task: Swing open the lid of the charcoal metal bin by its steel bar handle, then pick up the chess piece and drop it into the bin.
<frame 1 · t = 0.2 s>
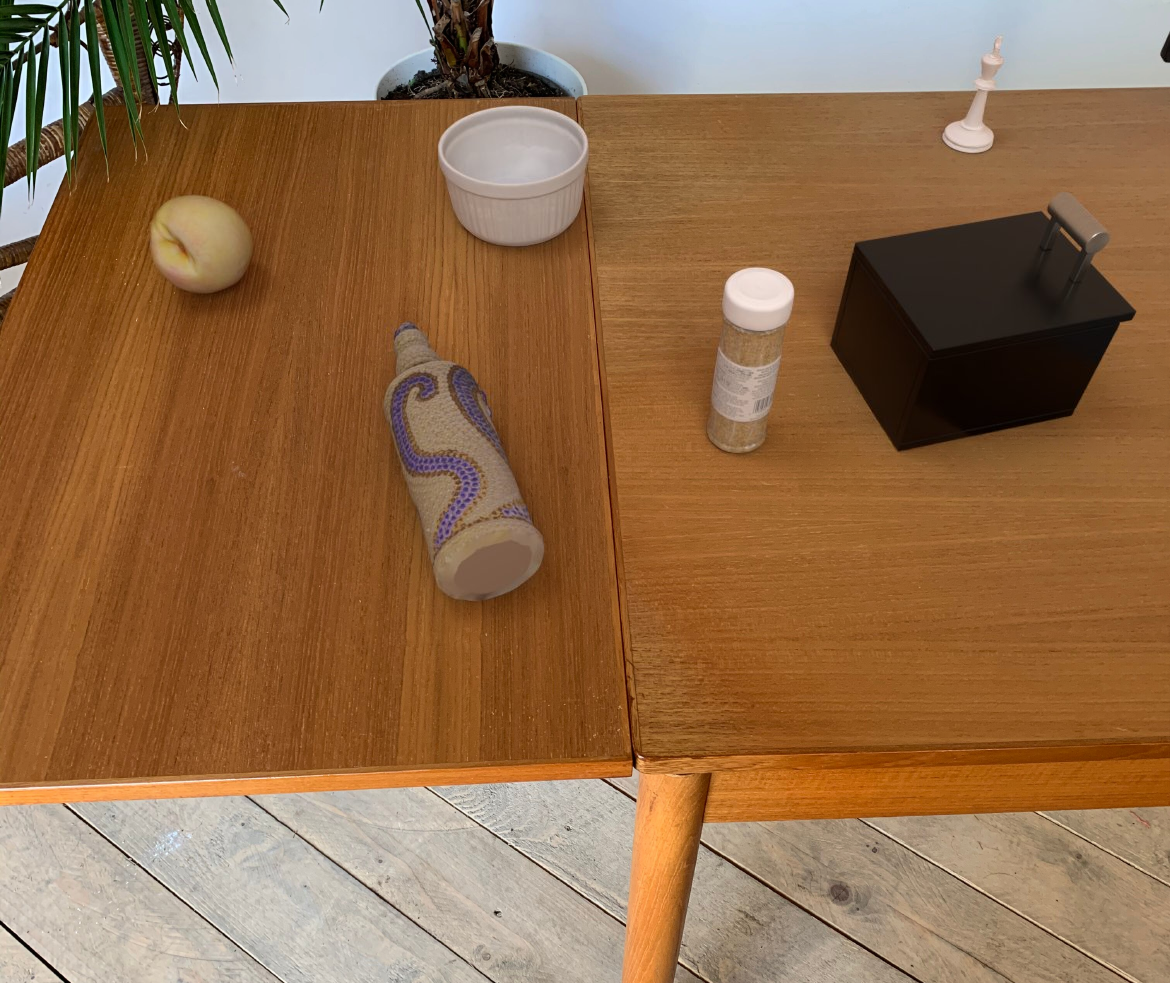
decorative bottle: (464, 475, 74), on the table
bin lid: (999, 255, 71), point 11 cm above the table, hinge at 0.0°
fruit: (217, 288, 87), on the table
chess piece: (966, 141, 101), on the table
ramekin: (517, 215, 94), on the table
bin: (946, 379, 80), on the table
spice jar: (735, 436, 76), on the table
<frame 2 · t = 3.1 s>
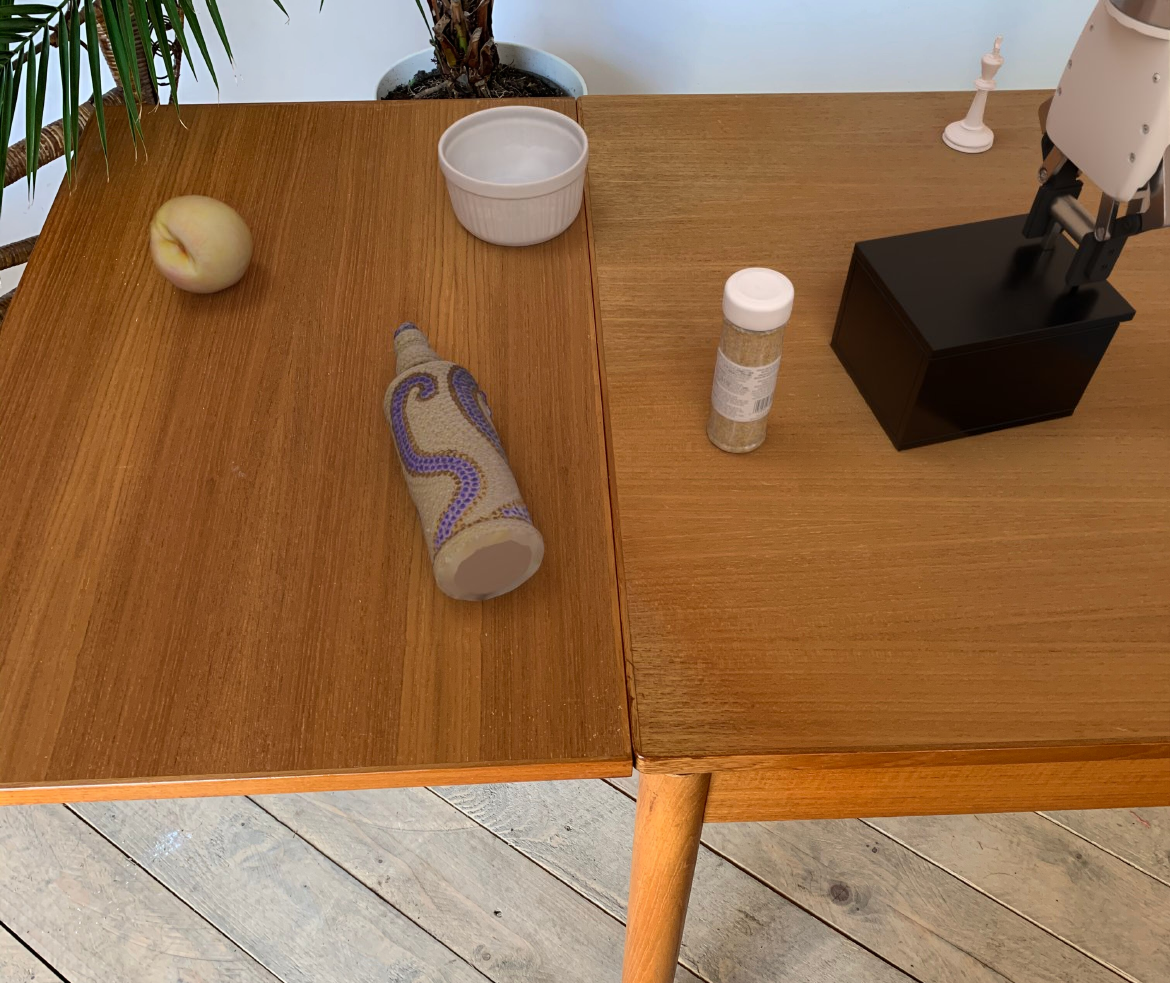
hand: (1063, 255, 73), 10 cm above the table, tool pointing down, fingers closed on bin lid, 5 cm apart
bin lid: (999, 255, 71), point 11 cm above the table, hinge at 0.0°, touching gripper
everything else where it was.
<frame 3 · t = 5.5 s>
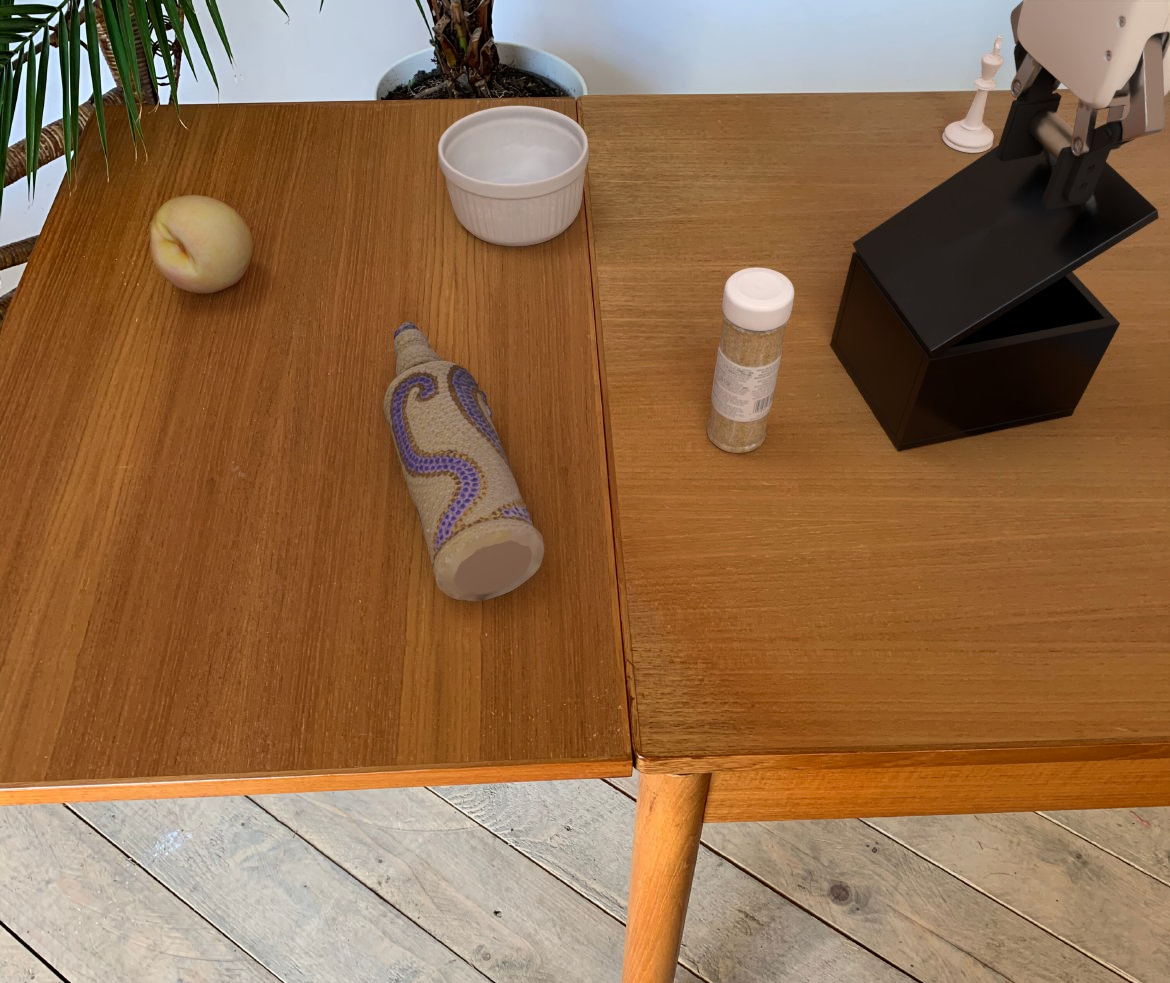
hand: (1041, 177, 66), 17 cm above the table, tool pointing down, fingers closed on bin lid, 5 cm apart
bin lid: (986, 211, 67), point 15 cm above the table, hinge at 32.6°, touching gripper
everything else where it was.
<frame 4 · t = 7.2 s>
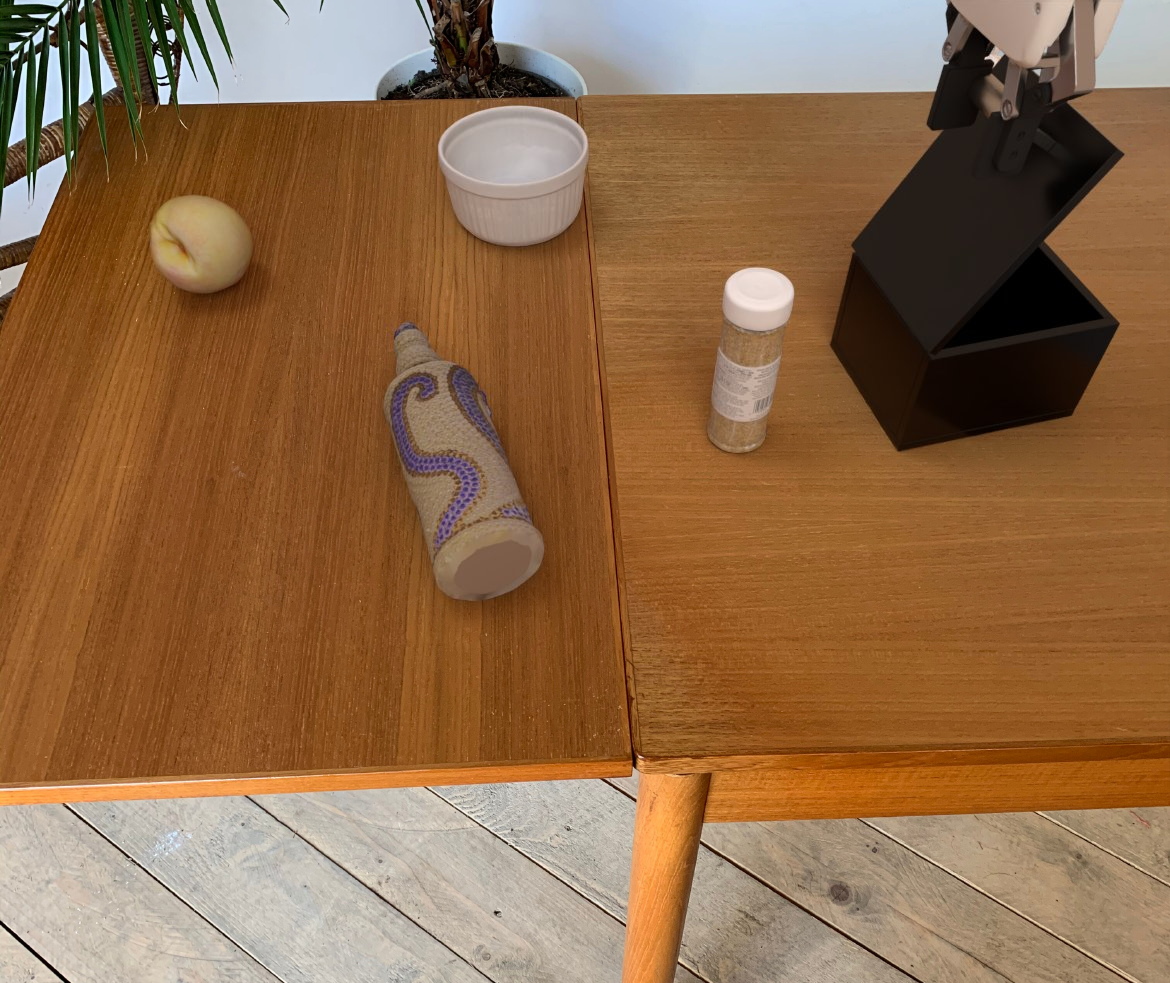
hand: (972, 147, 63), 20 cm above the table, tool pointing down, fingers closed on bin lid, 5 cm apart
bin lid: (951, 194, 66), point 17 cm above the table, hinge at 58.4°, touching gripper
everything else where it was.
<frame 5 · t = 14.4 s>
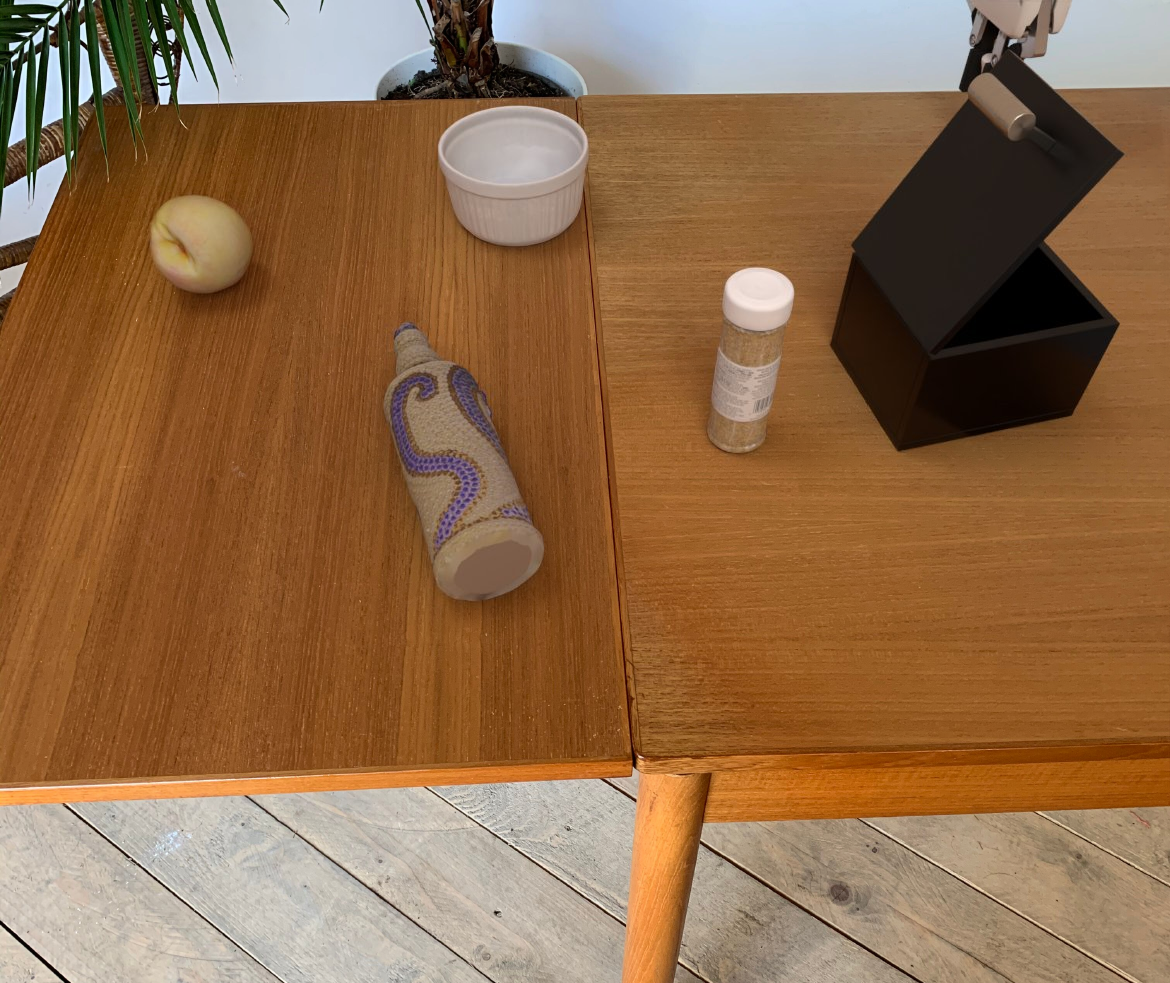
hand: (981, 95, 98), 5 cm above the table, tool pointing down, fingers closed on chess piece
bin lid: (951, 193, 66), point 17 cm above the table, hinge at 58.5°
chess piece: (966, 141, 101), on the table, touching gripper
everything else where it was.
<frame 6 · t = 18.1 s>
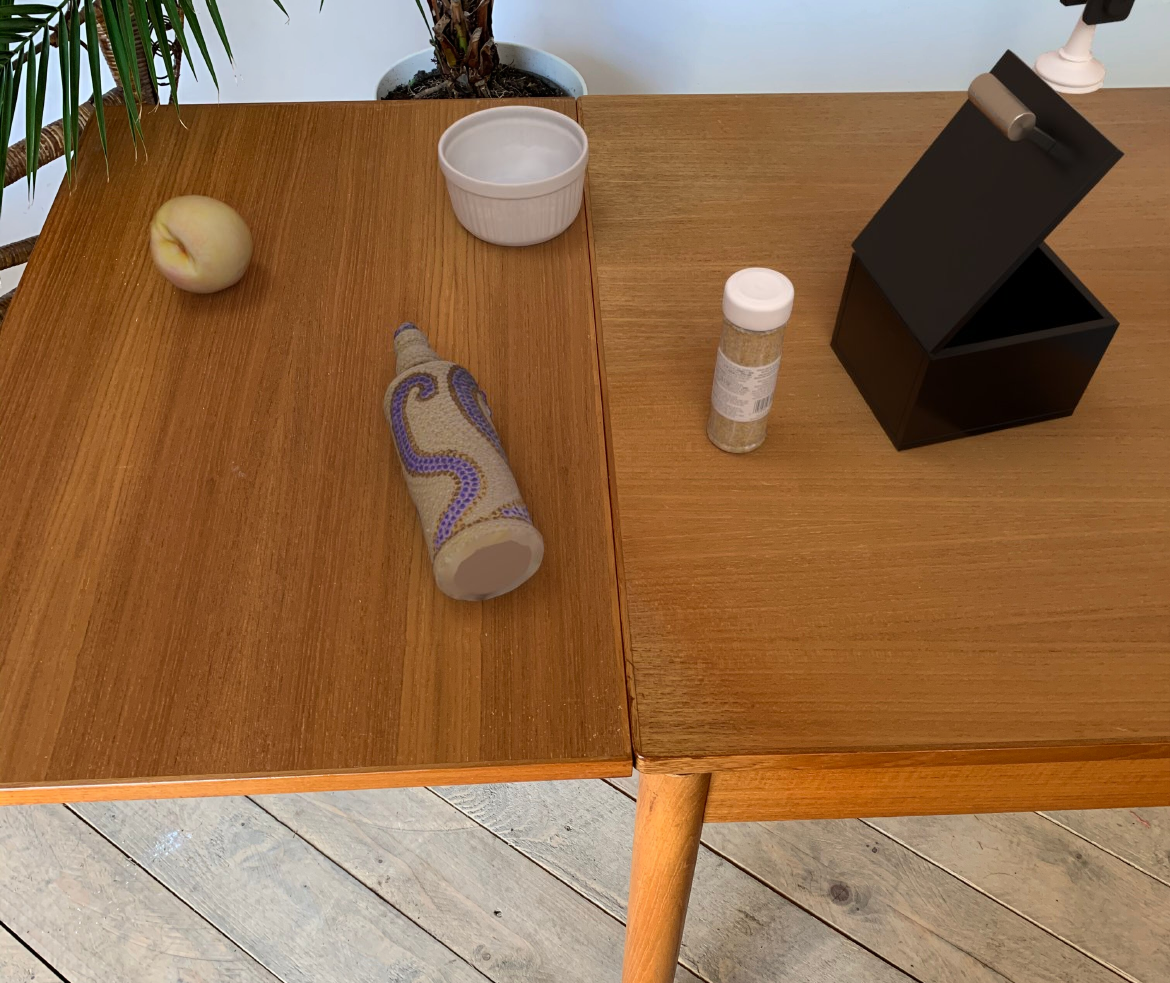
hand: (1092, 9, 68), 23 cm above the table, tool pointing down, fingers closed on chess piece
chess piece: (1065, 79, 72), point 18 cm above the table, touching gripper
everything else where it was.
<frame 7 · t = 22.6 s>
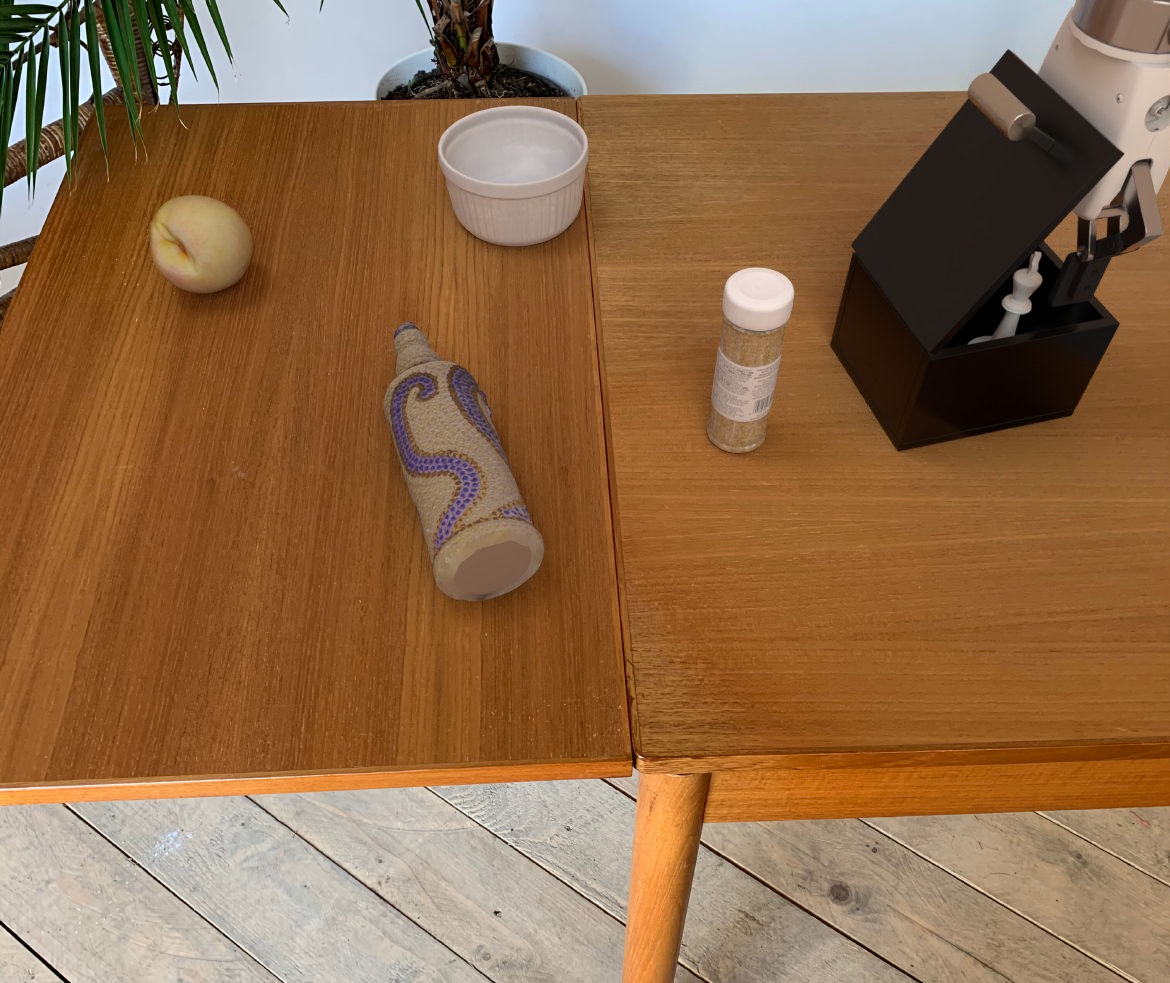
hand: (1036, 264, 73), 10 cm above the table, tool pointing down, fingers open, 8 cm apart
chess piece: (991, 364, 80), point 1 cm above the table, touching bin
everything else where it was.
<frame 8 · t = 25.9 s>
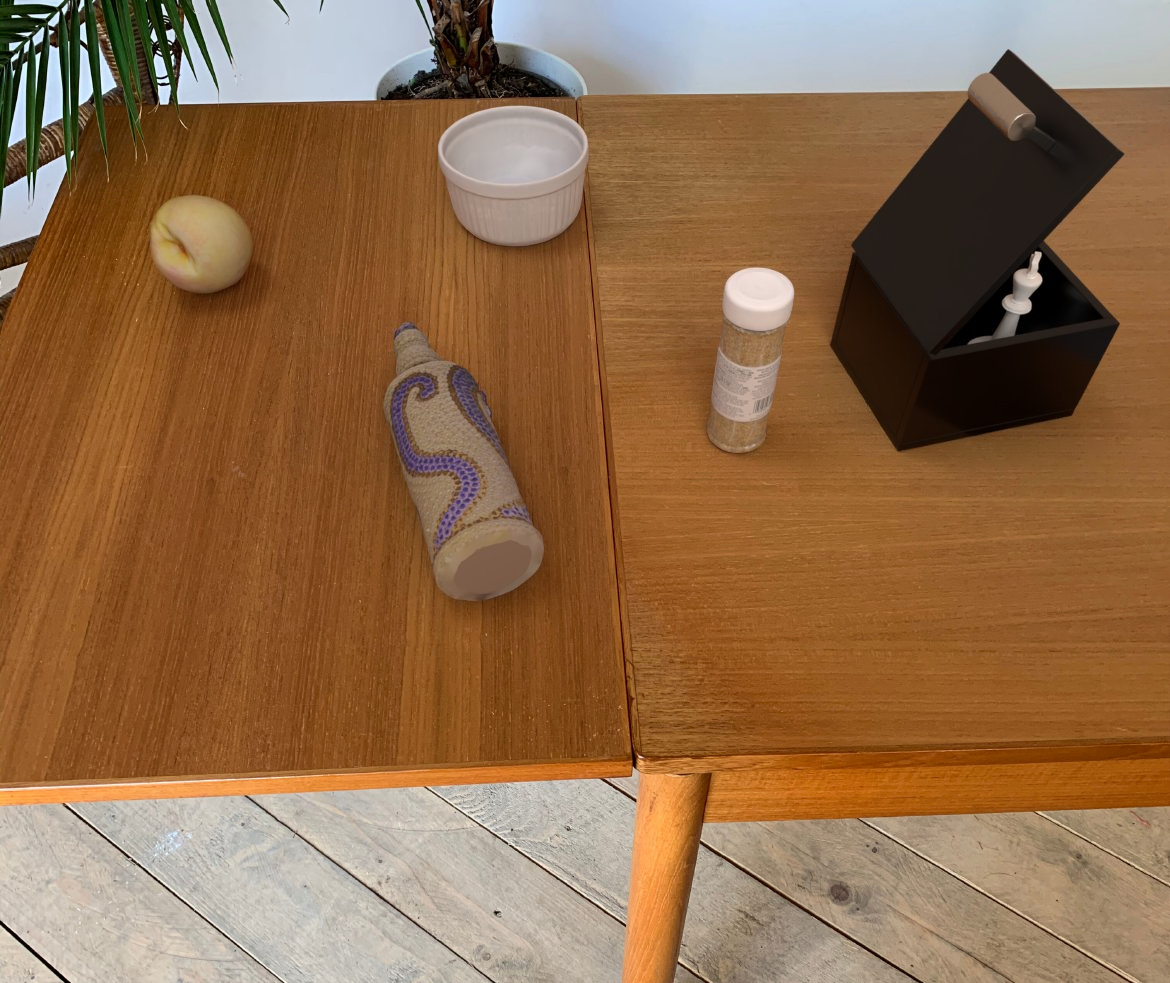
nothing on the table moved.
at the end: bin lid at +58° (first picture: +0°); chess piece inside the target area in the bin (3.8 cm from its centre), point 0.6 cm above the bin's base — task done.
